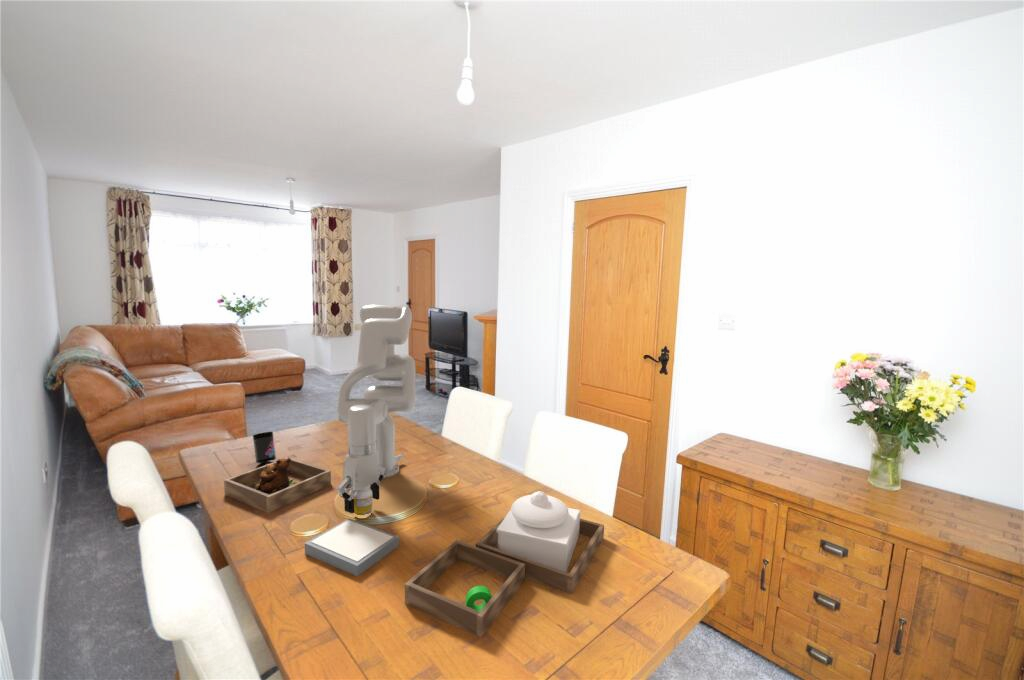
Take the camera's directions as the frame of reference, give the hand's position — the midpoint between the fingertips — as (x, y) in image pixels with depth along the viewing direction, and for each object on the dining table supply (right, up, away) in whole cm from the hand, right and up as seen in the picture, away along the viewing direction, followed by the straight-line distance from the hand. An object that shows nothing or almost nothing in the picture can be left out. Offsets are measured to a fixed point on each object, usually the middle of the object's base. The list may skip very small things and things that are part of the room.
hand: (362, 504), depth 130 cm
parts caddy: (+34, -8, -31) cm, 47 cm away
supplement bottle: (0, -4, +1) cm, 4 cm away
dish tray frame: (+51, -7, -15) cm, 54 cm away
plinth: (+3, -6, -17) cm, 18 cm away
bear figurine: (-33, -1, +14) cm, 36 cm away
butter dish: (+51, -7, -14) cm, 53 cm away
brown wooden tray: (-32, -1, +15) cm, 35 cm away
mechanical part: (+40, -12, -38) cm, 57 cm away
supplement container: (-48, +2, +36) cm, 60 cm away
